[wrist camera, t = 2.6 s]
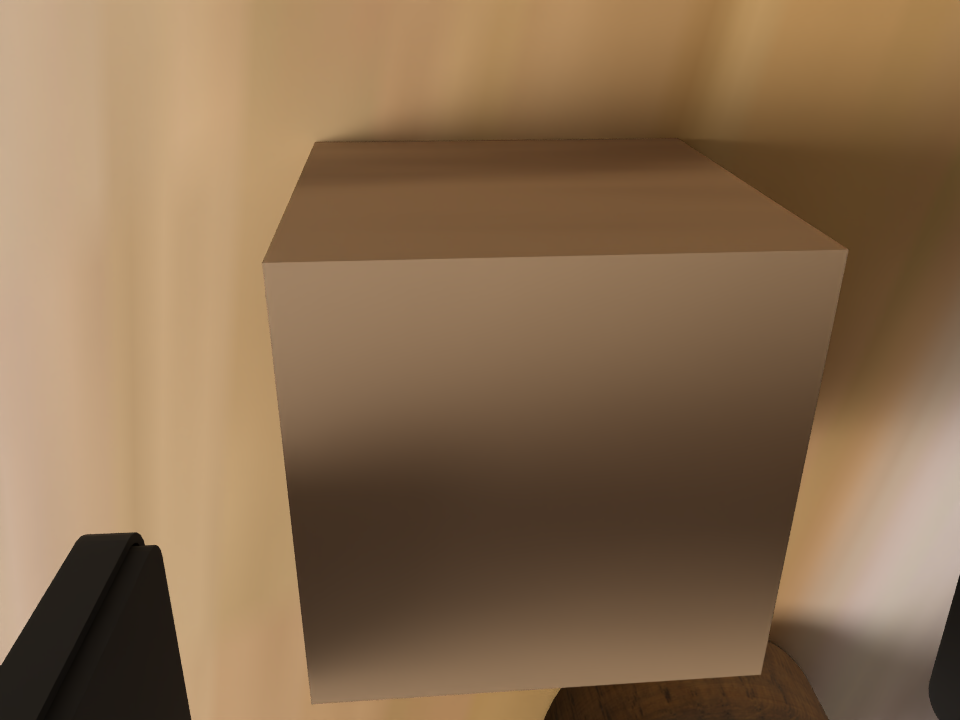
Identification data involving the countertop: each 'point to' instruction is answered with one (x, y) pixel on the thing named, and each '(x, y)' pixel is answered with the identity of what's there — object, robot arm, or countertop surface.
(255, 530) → the countertop surface
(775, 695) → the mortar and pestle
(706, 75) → the countertop surface
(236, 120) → the countertop surface
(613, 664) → the walnut cube
